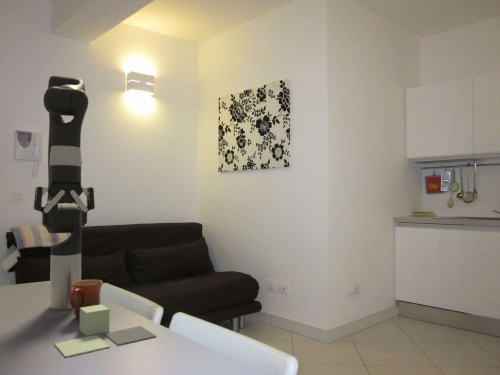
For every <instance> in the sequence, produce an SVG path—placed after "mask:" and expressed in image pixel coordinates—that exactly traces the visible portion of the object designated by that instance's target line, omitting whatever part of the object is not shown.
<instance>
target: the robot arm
mask: <svg viewBox="0 0 500 375" xmlns="http://www.w3.org/2000/svg"><path fill="white" fill-rule="evenodd" d="M47 82H48V84H47V89H46V91H45V92H44V94H43V106H44V108H45V110H46V111H47V112H48V120H49V123H48V124H49V125H48V146H47V173H48V174H47V176H48V178H47V179H48V180H47V181H48V182H47V184H48V186H47V187H42V186H36V187H35V188H34V189H35V190H34V198H33V199H34V200H33V201H34V202H33V209H34V211H37V212H40V213H41V218H42V219H41V224H42V226H43V227H44V228H45V229H46V231H47V233H49V234H69V237H67V238H66V239H64V240H62V241H60V242H58V243H55V244H53V245H52V246H51V247H50V262H49V263H50V268H49V269H50V272H49V273H50V276H49V278H50V279H49V281H50V283H49V308H50V310H57V311H60V310H71V309H73V308H72V306H71V304H70V293H71V291H72V290H73V287H72V283H73V282H76V281H81V280H82V238H83V227H85V225H86V224H87V223H88V212H89V211H92V210H94V209H95V208H96V207H95V189H94V187H92V186H91V187H89V186H87V187H82V164H83V162H82V161H83V160H82V152H81V151H82V150H81V139H82V138H81V135H82V126H83V122H84V119H85V115H86V114H87V111H88V107H89V97H88V95H87V94H86V85H85V83H84V81H83V80H82V79H81V78H77V77H71V76H64V75H63V76H61V75H51V76H50V77H49V79H48V81H47ZM63 116H65V117H66V116H67V117H73V118H72V119H71V120H70V121H68V122H65V120H64V118H63ZM46 194H47V200H46V201H47V202H46V204H44V205H43V206H42V204H43V196H45V195H46ZM82 194H84V196H86V205H85V204H84V201H83V200H82V198H80V196H81V195H82Z"/></svg>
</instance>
